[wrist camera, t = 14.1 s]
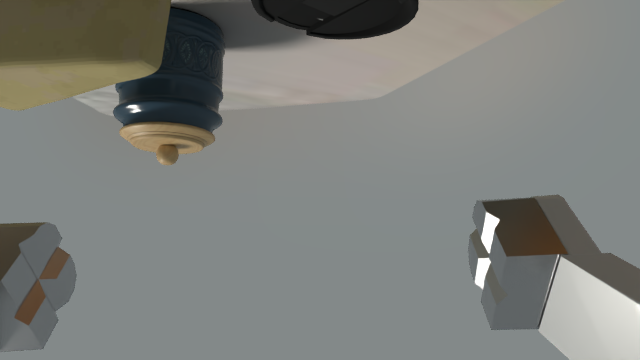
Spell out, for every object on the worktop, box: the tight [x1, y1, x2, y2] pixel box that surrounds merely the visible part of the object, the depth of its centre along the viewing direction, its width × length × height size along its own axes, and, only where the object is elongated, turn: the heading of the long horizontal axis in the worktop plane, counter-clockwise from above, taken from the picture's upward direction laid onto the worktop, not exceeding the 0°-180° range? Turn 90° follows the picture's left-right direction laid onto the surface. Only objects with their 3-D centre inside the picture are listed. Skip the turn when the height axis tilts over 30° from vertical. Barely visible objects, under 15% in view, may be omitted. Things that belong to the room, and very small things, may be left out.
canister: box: [113, 8, 225, 165], centre depth 62 cm, size 13×13×18 cm
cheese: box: [0, 0, 171, 110], centre depth 44 cm, size 22×10×15 cm, turn 112°
